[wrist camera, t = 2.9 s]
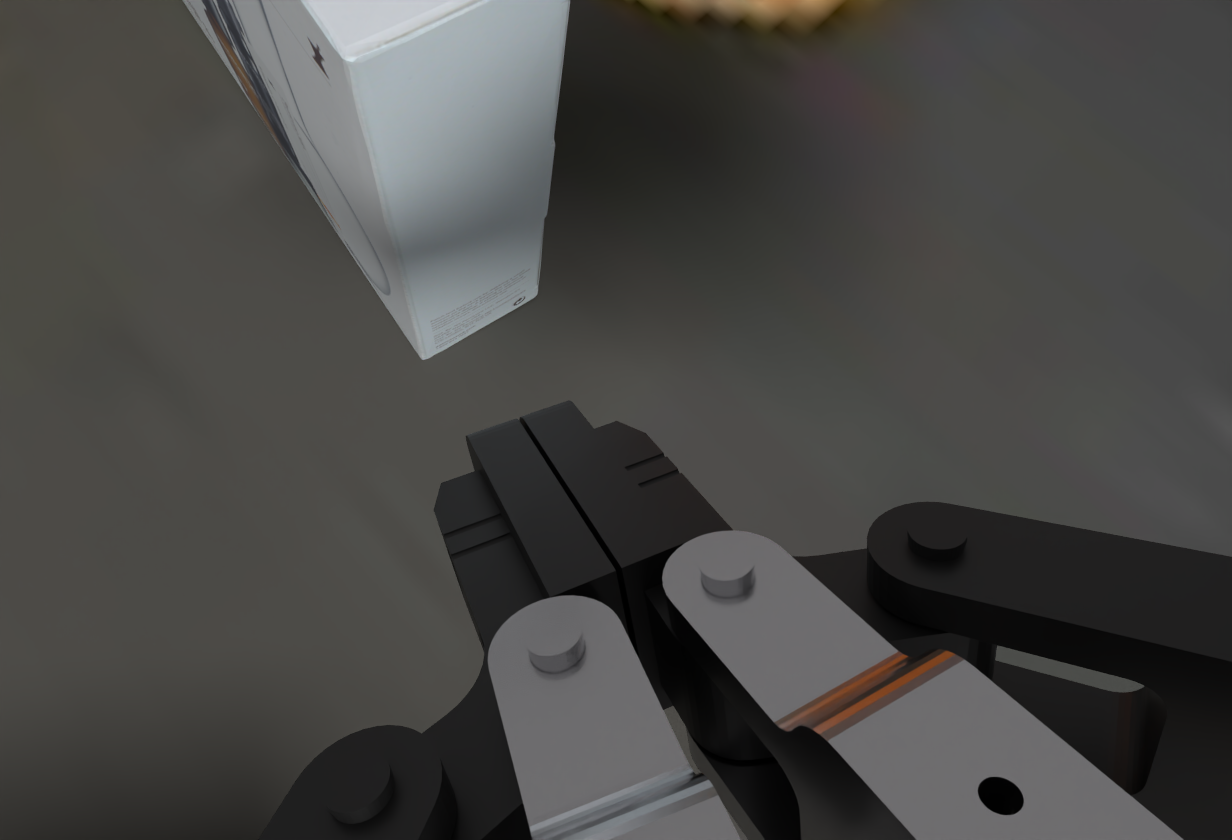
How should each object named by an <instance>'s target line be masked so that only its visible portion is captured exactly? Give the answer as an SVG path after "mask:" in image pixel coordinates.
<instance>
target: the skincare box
mask: <svg viewBox="0 0 1232 840" xmlns="http://www.w3.org/2000/svg"><path fill="white" fill-rule="evenodd" d="M183 2H184V3H185V5H186V6H187V8H188V9H189V11H190V12H191V14H192V15H193V17H194V18H195V20H196V21H197V23H198V24H199V26H200V27H201V29H202V30H203V32H204V33H205V35H206V36H207V38H208V39H209V41H210V42H211V44H212V45H213V47H214V48H215V50H216V51H217V53H218V54H219V56H220V57H221V59H222V60H223V62H224V63H225V65H226V66H227V68H228V69H229V71H230V72H231V74H232V75H233V77H234V78H235V80H236V81H237V83H238V84H239V86H240V87H241V89H242V91H243V92H244V94H245V95H246V97H247V98H248V100H249V101H250V103H251V104H252V106H253V107H254V109H255V110H256V112H257V113H258V115H259V116H260V118H261V119H262V121H263V122H264V124H265V125H266V127H267V128H268V130H269V131H270V133H271V134H272V136H273V138H274V139H275V141H276V142H277V144H278V145H279V147H280V148H281V150H282V151H283V153H284V154H285V156H286V157H287V159H288V160H289V162H290V163H291V165H292V166H293V168H294V169H295V171H296V172H297V174H298V175H299V177H300V178H301V180H302V181H303V183H304V184H305V186H306V187H307V189H308V190H309V192H310V193H311V195H312V196H313V198H314V199H315V201H316V202H317V204H318V205H319V207H320V208H321V210H322V211H323V213H324V214H325V216H326V217H327V219H328V220H329V222H330V223H331V225H332V226H333V228H334V229H335V231H336V232H337V234H338V235H339V237H340V238H341V240H342V241H343V243H344V244H345V246H346V247H347V249H348V250H349V252H350V253H351V255H352V256H353V258H354V259H355V261H356V262H357V264H358V266H359V267H360V269H361V270H362V272H363V273H364V275H365V276H366V278H367V279H368V281H369V282H370V284H371V285H372V287H373V288H374V290H375V291H376V293H377V294H378V296H379V297H380V299H381V300H382V302H383V303H384V305H385V306H386V307H387V309H388V310H389V312H390V313H391V315H392V316H393V318H394V319H395V321H396V322H397V324H398V325H399V327H400V328H401V330H402V331H403V333H404V334H405V336H406V337H407V339H408V340H409V342H410V343H411V345H412V346H413V348H414V349H415V351H416V352H417V354H418V355H419V356H420V358H421V359H423V360H425V359H428V358H430V357H432V356H433V355H435V354H437V353H439V352H441V351H443V350H445V349H447V348H448V347H450V346H452V345H453V344H455V343H457V342H459V341H460V340H462V339H464V338H465V337H467V336H469V335H471V334H472V333H474V332H476V331H477V330H479V329H481V328H483V327H484V326H486V325H488V324H490V323H491V322H493V321H495V320H497V319H498V318H500V317H502V316H504V315H506V314H507V313H509V312H511V311H513V310H514V309H516V308H518V307H519V306H521V305H523V304H524V303H526V302H528V301H530V300H531V299H533V298H534V297H536V295H537V294H538V286H539V277H540V267H541V255H542V242H543V230H544V218H545V217H546V216H547V211H548V203H549V194H550V185H551V177H552V168H553V159H554V150H555V141H554V132H555V124H556V116H557V108H558V101H559V93H560V84H561V76H562V67H563V59H564V50H565V42H566V33H567V25H568V16H569V7H570V0H183Z"/></svg>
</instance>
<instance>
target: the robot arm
mask: <svg viewBox="0 0 1232 840" xmlns="http://www.w3.org/2000/svg"><path fill="white" fill-rule="evenodd" d="M519 420H520V421H519ZM519 420H518V419H514V420H511V421H508V422H505V423H502V424H499V425H496V426H493V427H490V428H487V429H484V430H481V431H478V432H475V433H472V434H469V435H467V436H466V441H467V445H468V449H469V453H470V456H471V459H472V463H473V466H474V470H475V471H474V472H471V473H469V474H466V475H463V476H460V477H457V478H454V479H452V480H449V481H446V482H443V483H441V486H440V489H439V493H438V496H437V500H436V504H435V507H434V512H435V515H436V518H437V521H438V524H439V527H440V530H441V532H442V535H443V538H444V541H445V544H446V547H447V550H448V553H449V556H450V559H451V562H452V565H453V568H454V571H455V574H456V577H457V580H458V583H459V585H460V588H461V591H462V594H463V597H464V600H465V602H466V605H467V608H468V610H469V613H470V616H471V618H472V621H473V623H474V626H475V629H476V632H477V634H478V637H479V640H480V642H481V645H482V648H483V650H484V661H483V665H482V668H481V671H480V674H479V676H478V678H477V680H476V682H475V684H474V686H473V687H472V688H471V690H470V691H469V693H468V694H467V695H466V697H465V698H464V699H463V700H462V701H461V702H460V703H459V704H458V705H457V706H456V707H455V708H454V709H453V710H451V711H450V712H449V713H448V714H447V715H446V716H444V717H443V718H442V719H440V720H439V721H438V722H436V723H435V724H434V725H432V726H431V727H430V728H429V729H427V730H426V731H425V732H423V733H422V734H421V733H420V732H418V731H415V730H413V729H411V728H407V727H403V726H394V725H385V726H376V727H371V728H367V729H363V730H360V731H358V732H355V733H352V734H350V735H348V736H346V737H344V738H342V739H340V740H338V741H337V742H335V743H334V744H332V745H331V746H329V747H328V748H326V749H325V750H324V751H323V752H322V753H320V754H319V755H318V756H317V757H316V758H315V759H314V760H313V761H312V762H311V763H310V764H309V765H308V766H307V767H306V768H305V769H304V770H303V772H302V773H301V775H300V776H299V777H298V779H297V780H296V781H295V783H294V785H293V786H292V788H291V789H290V791H289V792H288V794H287V796H286V797H285V799H284V800H283V802H282V803H281V805H280V806H279V808H278V810H277V811H276V813H275V814H274V816H273V817H272V819H271V821H270V822H269V824H268V825H267V827H266V828H265V830H264V832H263V833H262V835H261V836H260V838H259V839H258V840H740V838H739V836H738V834H737V832H736V829H735V827H734V825H733V823H732V821H731V819H730V817H729V815H728V813H727V811H726V809H727V810H728V812H729V813H730V815H731V816H732V817H733V819H734V820H735V822H736V823H737V824H738V826H739V827H740V829H741V830H742V832H743V833H744V834H745V836H746V837H747V839H748V840H1232V557H1229V556H1224V555H1219V554H1213V553H1208V552H1203V551H1197V550H1192V549H1187V548H1181V547H1176V546H1171V545H1165V544H1160V543H1155V542H1150V541H1144V540H1139V539H1134V538H1128V537H1123V536H1118V535H1112V534H1107V533H1102V532H1096V531H1091V530H1086V529H1081V528H1075V527H1070V526H1065V525H1059V524H1054V523H1049V522H1043V521H1038V520H1033V519H1027V518H1022V517H1017V516H1012V515H1006V514H1001V513H996V512H990V511H985V510H980V509H974V508H969V507H964V506H958V505H953V504H947V503H940V502H917V503H910V504H905V505H902V506H898V507H895V508H893V509H891V510H889V511H887V512H885V513H884V514H882V515H881V516H879V517H878V518H877V519H876V520H875V521H874V522H873V524H872V526H871V527H870V529H869V532H868V536H867V549H860V550H853V551H846V552H839V553H833V554H826V555H819V556H808V557H794V556H791V555H789V554H788V553H787V552H786V551H785V550H784V549H783V548H782V547H780V546H779V545H778V544H776V543H775V542H773V541H772V540H770V539H768V538H766V537H763V536H760V535H758V534H754V533H750V532H745V531H733V529H732V528H731V527H730V526H729V525H728V524H727V523H726V522H725V521H724V520H723V518H722V517H721V516H720V515H719V514H718V513H717V512H716V511H715V510H714V508H713V507H712V506H711V505H710V504H709V503H708V502H707V501H706V500H705V498H704V497H703V496H702V495H701V494H700V493H699V492H698V491H697V490H696V488H695V487H694V486H693V485H692V484H691V483H690V482H689V481H688V480H687V478H686V477H685V476H684V475H683V474H682V473H679V471H678V468H677V467H676V466H675V465H674V464H673V463H672V462H671V461H670V460H669V458H668V457H665V456H664V453H663V452H662V451H661V450H660V449H659V447H658V446H657V445H656V444H655V443H654V442H653V441H652V440H651V439H650V437H649V436H648V435H647V434H646V433H644V432H642V431H639V430H637V429H634V428H632V427H630V426H627V425H625V424H623V423H620V422H618V421H615V422H613V423H610V424H607V425H604V426H601V427H598V428H596V429H594V428H593V427H592V426H591V425H590V423H589V422H588V421H587V420H586V418H585V417H584V416H583V415H582V413H581V412H580V411H579V410H578V408H577V407H576V406H575V405H574V403H573V402H571V401H566V402H563V403H560V404H557V405H554V406H551V407H548V408H545V409H542V410H539V411H536V412H534V413H531V414H528V415H525V416H522V417H520V419H519ZM997 645H999V646H1003V647H1006V648H1010V649H1014V650H1018V651H1022V652H1026V653H1030V654H1033V655H1037V656H1041V657H1045V658H1049V659H1053V660H1056V661H1060V662H1064V663H1068V664H1072V665H1076V666H1080V667H1083V668H1087V669H1091V670H1095V671H1099V672H1103V673H1107V674H1110V675H1114V676H1118V677H1122V678H1126V679H1129V680H1132V681H1135V682H1138V683H1140V684H1142V685H1144V686H1145V687H1143V688H1142V689H1139V690H1137V691H1133V692H1126V693H1119V692H1111V691H1107V690H1103V689H1099V688H1096V687H1092V686H1088V685H1084V684H1081V683H1077V682H1073V681H1069V680H1066V679H1062V678H1058V677H1055V676H1051V675H1047V674H1043V673H1040V672H1036V671H1032V670H1028V669H1025V668H1021V667H1017V666H1014V665H1010V664H1006V663H1002V662H999V661H995V657H996V650H997ZM671 706H674V707H675V709H676V711H677V712H678V714H679V716H680V717H681V719H682V721H683V722H684V724H685V726H686V730H687V736H688V742H689V748H690V753H691V756H692V759H693V761H694V762H695V764H696V766H697V768H698V769H699V770H700V772H701V773H699V774H695V773H694V772H693V770H692V769H691V767H690V765H689V763H688V761H687V759H686V757H685V755H684V753H683V751H682V749H681V747H680V745H679V743H678V741H677V738H676V736H675V734H674V732H673V730H672V728H671V726H670V724H669V722H668V719H667V717H666V715H665V713H664V711H663V710H664V709H666V708H669V707H671ZM724 806H725V807H726V809H725V807H724Z"/></svg>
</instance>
